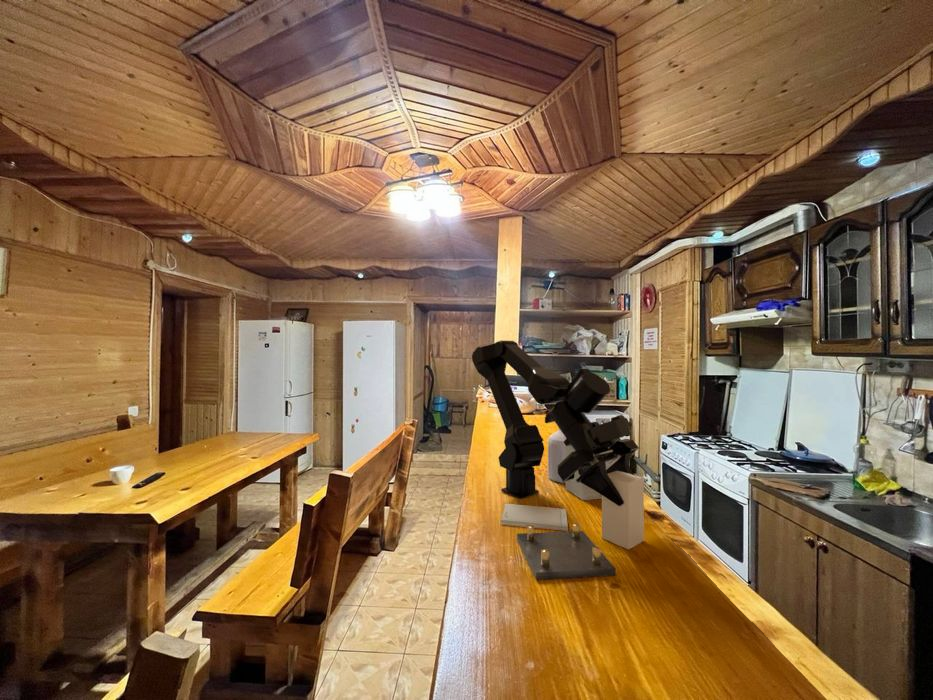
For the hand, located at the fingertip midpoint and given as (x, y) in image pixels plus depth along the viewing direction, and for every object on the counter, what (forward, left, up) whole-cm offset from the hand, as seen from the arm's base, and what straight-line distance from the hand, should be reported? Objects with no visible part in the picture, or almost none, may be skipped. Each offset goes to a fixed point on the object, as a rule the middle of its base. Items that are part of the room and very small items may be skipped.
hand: (630, 501), depth 65 cm
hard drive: (-17, -6, -8) cm, 19 cm away
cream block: (-1, 0, -7) cm, 7 cm away
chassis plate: (-4, -13, -7) cm, 15 cm away
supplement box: (-18, +14, -7) cm, 24 cm away
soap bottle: (-28, +19, -7) cm, 35 cm away
